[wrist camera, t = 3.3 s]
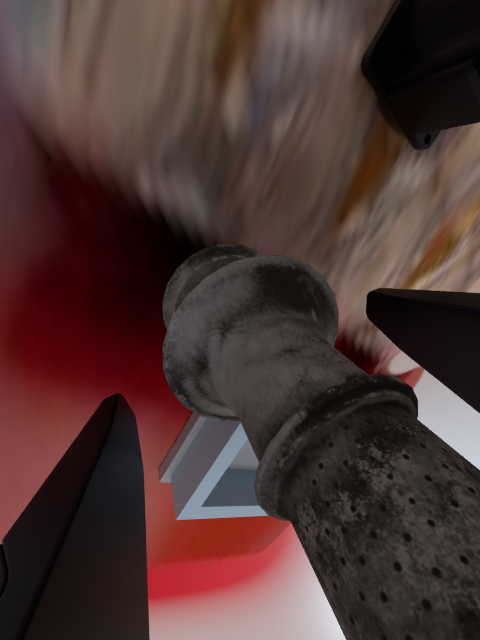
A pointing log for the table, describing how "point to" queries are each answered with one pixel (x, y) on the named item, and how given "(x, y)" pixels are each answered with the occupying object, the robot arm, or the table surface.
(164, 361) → the grey stone tall figure
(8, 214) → the table surface
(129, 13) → the table surface
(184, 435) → the holder
